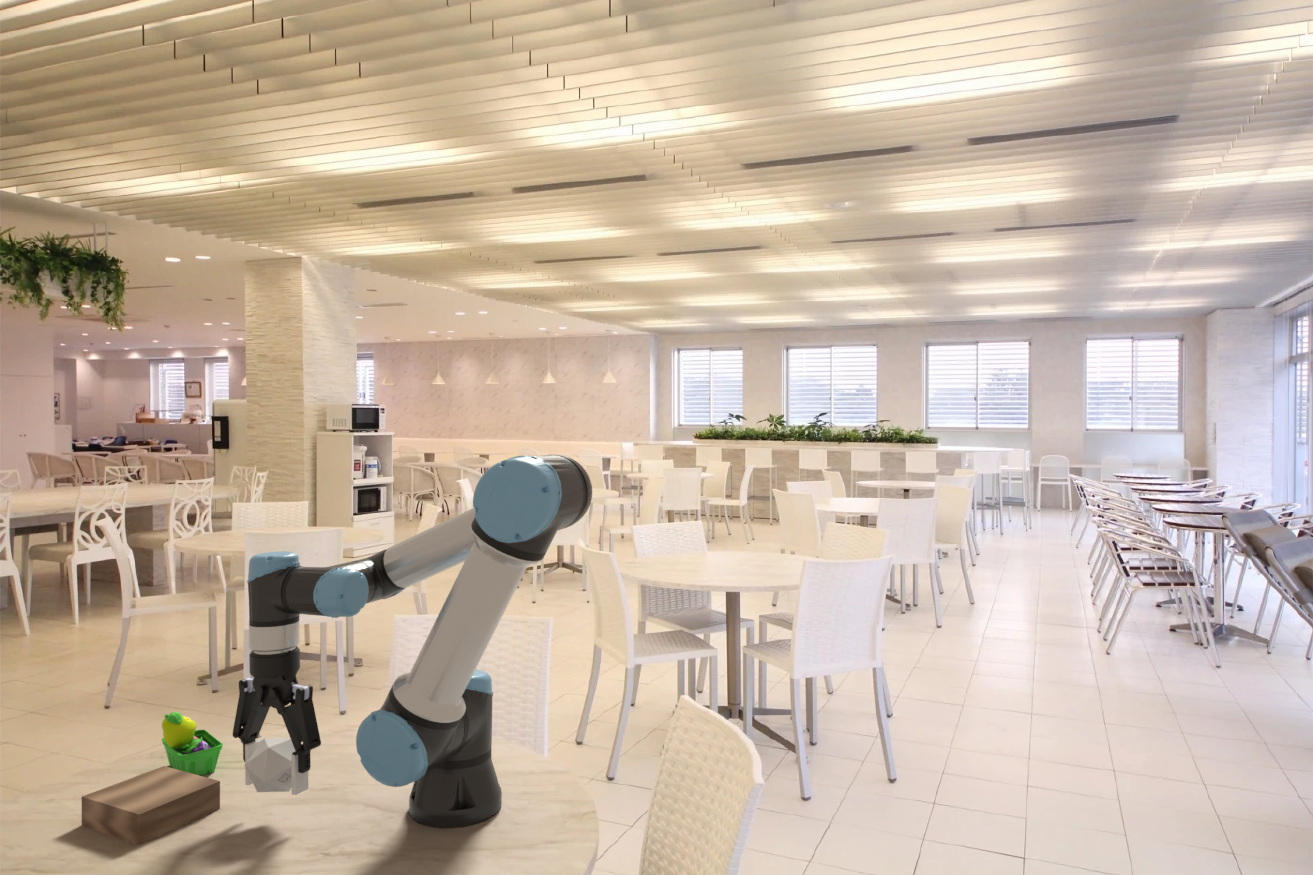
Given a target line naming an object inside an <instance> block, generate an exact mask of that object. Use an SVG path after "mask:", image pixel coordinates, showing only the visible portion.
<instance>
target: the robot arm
mask: <svg viewBox="0 0 1313 875" xmlns="http://www.w3.org/2000/svg"><path fill="white" fill-rule="evenodd" d="M592 499H593V485H592V482H591V478H590V476H589V474H588V472H587V470H586V469H585V468H584V467H583V466H582V464H580V463H579V462H578V461H577V460H575V459H573V458H572V457H570V456H566V455H563V454H545V455H536V456H535V455H517V456H513V457H508V458H507V459H504V460H501V461H498V462H497V463H495V464H493V465H492V466H490V468H489V467H488V469H487V470H486V471H485V472H484V473H483V474H482V476H481V477H480V479H479V480H478V481H477V484H476V486H475V490H474V493H473V496H472V507H471V509H468V510H466V511H464V512H462V513H460V514H457V515H455V516H453V517H451V518H448V519H447V520H444V521H443V522H440V523H438V524H436V525H434V526H433V527H430V528H428V529H426V530H423V531H421V532H419V533H417V534H415V535H414V536H410V537H409V538H407V539H405V540H402V541H400V542H399V543H396V544H394V545H392V546H390V547H388V548H387V549H383V550H381V551H379V552H377V553H375V554H372V555H369V556H368V557H364V558H361V559H357V560H351V561H347V562H344V563H343V562H342V563H339V564H338V563H337V564H334V565H330V566H324V567H322V566H321V567H320V566H302V565H301V563H300V561H299V560H300V558H299V555H298V554H297V553H296V552H292V551H270V552H269V551H268V552H262V553H257V554H255V555H253V556H252V557H251V558H250V559H249V562H248V577H247V590H248V613H249V614H248V616H249V619H248V620H249V621H248V648H249V649H250V650H251V651H250V653H249V655H248V656H249V657H248V658H249V660H248V661H249V663H248V664H249V674H250V676H249V677H246V678H243V679H240V680H239V681H238V691H239V692H238V693H239V695H238V701H237V706H236V707H237V708H236V711H235V712H236V713H235V718H234V724H233V729H232V736H233V738H234V739H237V738H238V739H240V742H241V743H242V752H243V753H242V758H243V762H244V764H245V763H246V762H247V761H248V759H249V758H250V757H251V755H252V754H253V753H254V751H255V750H256V749H257V747H258V746H259V745H260V743H261V742H262V740H263V739H259V738H261V737H262V736H261V734H260V732H261V729H262V728H263V726H264V722H265V720H266V718H267V716H268V714H269V710H270V708H274V709H276V711H277V714H278V715H280V716H281V718H282V720H283V723H284V725H285V728H286V730H287V732H288V735H289V738H291V741H292V743H293V746H294V749H295V752H293V753H291V774H292V788H291V795H294V796H297V795H298V794H301V793H302V792H304V791H307V790H309V771H310V770H311V751H312V750H314V749H316V748H318V747H321V745H322V741H321V736H320V730H319V726H318V721H317V716H316V711H315V704H314V701H313V694H314V693H313V692H314V687H313V685H312V684H307V685H301V684H299V682H298V679H297V673H298V671H299V670H300V668H301V649H300V648H299V647H298V645H299V644H300V641H301V640H300V615H308V616H319V617H329V618H332V619H333V618H336V619H338V618H340V617H341V618H343V617H345V618H346V617H347V618H350V617H353V616H357V615H358V614H359V613H360V612H361V610H362V609H363V608H364V607H365V606H366V605H367V604H371V603H374V602H377V601H380V600H386V599H390V598H391V597H395V596H396V595H398V594H400V593H402V592H403V591H404V590H405V589H407V588H409V587H411V586H413V585H416V584H418V583H420V582H423V581H425V580H427V579H429V578H431V577H434V576H436V575H438V574H440V573H442V572H445V571H447V570H450V569H451V568H452V569H453V568H454V567H456V566H459V565H460V564H462V563H463V564H462V566H461V568H460V570H459V573H458V575H457V577H456V578H455V580H454V582H453V584H452V587H451V588H450V590H449V593H448V594H447V596H446V598H445V601H444V603H443V605H442V607H441V609H440V611H439V613H438V616H437V617H436V619H435V622H433V625H432V628H431V629H430V632H429V633H428V635H427V637H426V639H425V641H424V643H423V646H422V648H421V650H420V652H419V654H418V656H417V658H416V659H415V662H414V664H413V665H412V668H411V669H410V672H407V673H403V674H401V675H399V676H398V677H396V679H395V681H394V682H393V684H392V685H391V687H390V689H389V691H388V693H387V696H386V698H385V700H384V702H383V704H382V706H381V707H380V708H379V709H378V710H375V711H372V712H371V713H370V714H368V715H367V717H366V718H364V719H363V720H362V721H361V723H360V725H359V726H358V729H357V732H356V738H355V744H356V746H355V747H356V752H357V754H358V755H359V758H360V763H361V765H362V767H363V768H364V770H365V771H366V772H367V774H368V775H369V776H371V778H373V779H374V780H375V781H377V782H378V783H380V784H382V785H384V786H387V787H391V788H398V787H399V788H400V787H405V786H408V785H409V784H412V783H413V786H412V789H411V791H410V794H409V800H408V812H409V813H408V814H409V816H410V818H412V819H413V820H414V821H415V822H418V823H419V824H423V825H425V826H430V827H437V828H454V827H456V828H457V827H464V826H468V825H469V826H470V825H474V824H477V823H480V822H484V821H485V820H487V818H488V819H490V818H491V817H493V816H494V815H496V814H497V813H498V812H499V811H500V810H501V807H502V805H503V804H502V802H503V801H502V793H503V792H502V787H501V785H500V783H499V780H498V776H497V772H496V770H495V769H496V768H495V766H494V764H493V763H494V762H493V759H492V745H493V744H492V740H493V738H492V735H493V697H494V691H493V684H492V677H491V675H490V674H489V673H488V672H487V671H484V670H481V669H477V667H478V665H479V663H480V662H481V659H482V657H483V656H484V654H485V651H486V650H487V648H488V646H489V645H490V644H489V643H490V641H491V640H492V637H493V636H494V634H495V633H496V632H495V631H496V630H497V627H498V626H499V623H500V622H501V620H502V618H503V616H504V614H505V612H506V610H507V608H508V606H509V605H510V604H509V603H510V601H511V600H512V598H513V596H514V594H515V592H516V591H517V588H518V586H519V584H520V583H521V580H522V578H523V576H524V574H525V573H526V570H527V568H528V567H529V566H531V565H535V564H538V563H540V562H542V561H543V559H544V558H545V556H546V553H547V551H548V550H549V548H550V546H551V544H552V542H553V540H554V538H555V537H556V534H557V532H558V531H560V530H563V529H566V528H568V527H572V526H574V525H575V524H576V523H578V522H579V521H580V520H581V519H583V517H585V514H586V513H587V512H588V510H589V509H590V507H591V503H592ZM244 773H245V778H244V780H245V781H244V782H245V785H246V786H251V785H252V784H253V782H252V780H251V778H250V776H249V774H248V772H247V770H246V768H244ZM253 785H254V784H253ZM492 815H493V816H492ZM490 816H491V817H490ZM489 817H490V818H489Z"/></svg>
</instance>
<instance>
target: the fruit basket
mask: <svg viewBox="0 0 1313 875" xmlns="http://www.w3.org/2000/svg"><path fill="white" fill-rule="evenodd" d="M197 725H198V724H197V722H196V721H194V720H193V719H191V718H190V717H188V716H184V715H182V714H181V713H180V712H178V711H172V712H171V713H169V714H168V713H166V714H164V719H163V720H162V722H161V729H162V731H163V732H162V734H163V737H162V738H161V742H162V744H163V746H164V749H165V753H166V756H167V760H168V763H169V764H168V765H169V766H170V768H173V769H177V770H181V771H184V772H188V773H192V774H196V775H199V776H203V775H207V774H209V773H211V774H212V773H214V772H215V771H216V768H217V763H218V760H219V758H220V757H219V756H220V754H221V751H222V749H223V745H224V744H223V742H221V741H220V740H218V739H217V738H216V737H215V736H214V735H212V734H211V733H210V732H208V730H206V729H197V727H198V726H197Z"/></svg>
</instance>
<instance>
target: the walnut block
mask: <svg viewBox="0 0 1313 875" xmlns="http://www.w3.org/2000/svg"><path fill="white" fill-rule="evenodd" d="M220 809H221V781H220V780H217V779H213V778H209V777H207V776H203V775H200V776H199V775H196V774H192V773H188V772H184V771H181V770H177V769H174V768H173V767H171V766H170V767H169V766H165V765H163V766H161V767H157V768H154V769H152V770H150V771H147V772H144V773H142V774H139V775H137V776H133V777H131V778H128V779H125V780H123V781H120V782H118V783H114V784H112V785H110V786H106V787H104V788H101V789H98V790H95V791H94V792H93V791H92V792H90V793H88V794H85V795H82V796H81V826H82V827H85V828H88V829H91V830H94V831H97V832H100V833H102V834H106V835H109V836H112V837H114V838H118V839H121V840H124V841H127V842H130V843H133V844H135V845H142V844H144V843H146V842H149V841H150V840H153V839H155V838H158V837H160V836H162V835H164V834H166V833H168V832H171V831H174V830H175V829H177V828H181V827H183V826H185V825H186V824H188V823H191V822H193V821H196V820H197V819H200V818H202V817H205V816H207V815H210V814H211V813H214V812H216V811H218V810H220Z"/></svg>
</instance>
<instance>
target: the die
mask: <svg viewBox="0 0 1313 875" xmlns="http://www.w3.org/2000/svg"><path fill="white" fill-rule="evenodd" d="M261 740H262V742H261V743H260V745H259V746H258V747H257V749H256V750H255V751H254V753H253V754H252V755H251V757H250V758H249V759H248V761H247V762H246V763H245V762H244V767H245V768H246V770H247V772H248V774H249V776H250V778H251V780H252V782H253V786H254V788H255V790H256V792H257V793H275V792H276V793H278V792H281V793H282V792H283V793H284V792H286V793H287V792H290V790H292V774H291V753H293V752H295V749H294V746H293V743H292V741H291V738H290V737H264V738H263V739H261ZM245 768H244V769H245Z"/></svg>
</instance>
